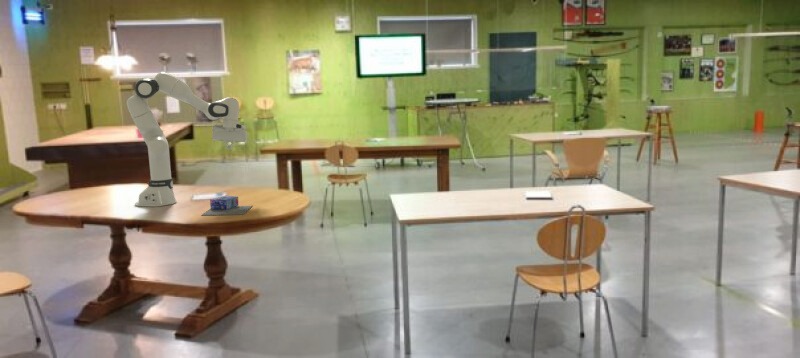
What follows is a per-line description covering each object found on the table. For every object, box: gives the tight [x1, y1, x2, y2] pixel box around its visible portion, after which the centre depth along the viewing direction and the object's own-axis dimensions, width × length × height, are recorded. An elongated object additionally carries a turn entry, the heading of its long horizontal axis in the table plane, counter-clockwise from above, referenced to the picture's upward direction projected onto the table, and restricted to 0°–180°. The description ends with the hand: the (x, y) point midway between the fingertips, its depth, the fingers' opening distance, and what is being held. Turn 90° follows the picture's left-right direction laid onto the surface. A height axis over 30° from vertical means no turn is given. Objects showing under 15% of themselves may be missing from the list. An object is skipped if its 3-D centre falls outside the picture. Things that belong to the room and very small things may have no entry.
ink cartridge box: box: [209, 195, 239, 210], centre depth 350 cm, size 10×6×14 cm
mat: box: [201, 205, 253, 217], centre depth 344 cm, size 22×20×1 cm
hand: (229, 149), depth 374 cm, fingers closed
